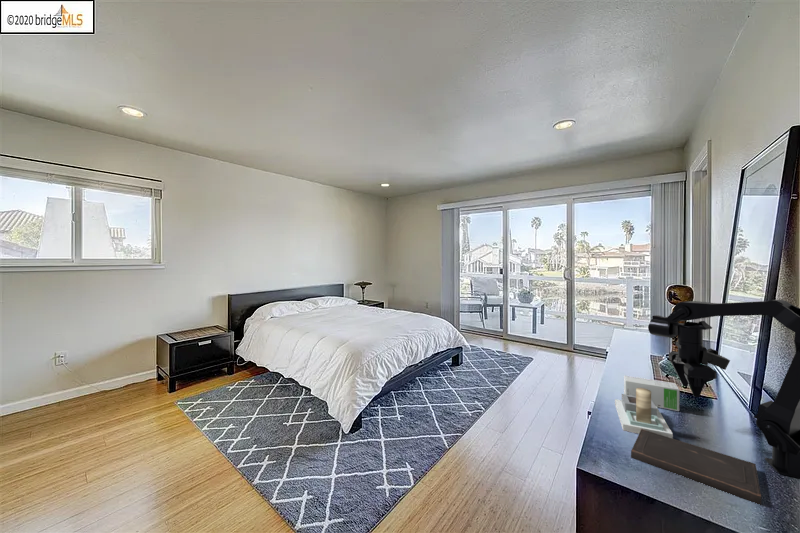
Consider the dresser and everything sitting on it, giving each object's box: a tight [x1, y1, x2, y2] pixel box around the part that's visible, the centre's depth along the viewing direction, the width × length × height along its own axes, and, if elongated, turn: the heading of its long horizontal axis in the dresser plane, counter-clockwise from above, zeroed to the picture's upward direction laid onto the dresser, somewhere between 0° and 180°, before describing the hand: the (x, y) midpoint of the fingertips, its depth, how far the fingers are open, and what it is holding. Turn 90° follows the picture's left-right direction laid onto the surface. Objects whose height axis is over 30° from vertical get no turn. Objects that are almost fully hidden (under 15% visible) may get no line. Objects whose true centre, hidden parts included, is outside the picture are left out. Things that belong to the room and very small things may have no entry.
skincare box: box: [623, 375, 680, 412], centre depth 115 cm, size 8×7×16 cm
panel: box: [614, 393, 674, 439], centre depth 103 cm, size 20×12×5 cm, turn 151°
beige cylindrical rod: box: [636, 388, 651, 424], centre depth 98 cm, size 4×4×10 cm
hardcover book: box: [630, 429, 762, 506], centre depth 81 cm, size 16×23×2 cm
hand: (690, 391), depth 97 cm, fingers open, 9 cm apart
